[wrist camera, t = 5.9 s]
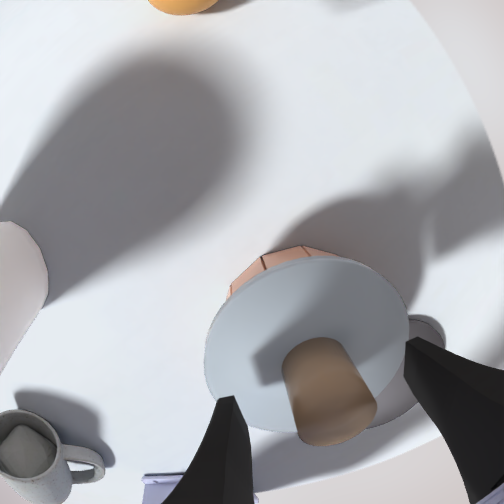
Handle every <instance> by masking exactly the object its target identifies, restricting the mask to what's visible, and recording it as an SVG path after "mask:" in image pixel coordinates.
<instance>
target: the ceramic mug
mask: <svg viewBox="0 0 504 504" xmlns="http://www.w3.org/2000/svg"><path fill="white" fill-rule="evenodd" d="M66 460H73V461H82V462H86V463H90V464H94V465H95V466H94V468H93V469H90V470H84V471H70V468H69V466H68V464H67V461H66ZM104 475H105V467H104V463H103V459H102V457H101V456H100V455H99V454H98V453H97V452H95V451H93V450H91V449H88V448H86V447H81V446H74V445H66V444H62V443H61V442H60V439H59V437H58V435H57V433H56V431H55V430H54V428H53V427H52V426H51V425H50V424H49V423H48V422H47V421H46V420H45V419H43V418H42V417H40V416H39V415H37V414H34V413H32V412H29V411H26V410H8V411H4V412H2V413H0V476H1V477H2V478H3V479H4V480H5V482H7V484H8V485H9V486H10V487H11V488H12V489H13V490H14V491H15V492H16V493H17V494H18V495H20V496H21V497H22V498H24V499H25V500H27V501H29V502H31V503H33V504H61V503H63V502H64V501H65V500H66V499H67V498H68V496H69V494H70V492H71V488H72V484H82V483H92V482H96V481H98V480H100V479H102V478H103V477H104Z"/></svg>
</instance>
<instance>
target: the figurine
mask: <svg viewBox="0 0 504 504" xmlns="http://www.w3.org/2000/svg"><path fill="white" fill-rule="evenodd" d="M148 1H149V2H150V3H151V4H152V5H153V6H154V7H155V8H157V9H158V10H160V11H162V12H165V13H168V14H172V15H191V14H195V13H199V12H201V11H204V10H206V9H208V8H209V7H211V6H212V5H214V4H215V3H216V2H217V1H218V0H148Z"/></svg>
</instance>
